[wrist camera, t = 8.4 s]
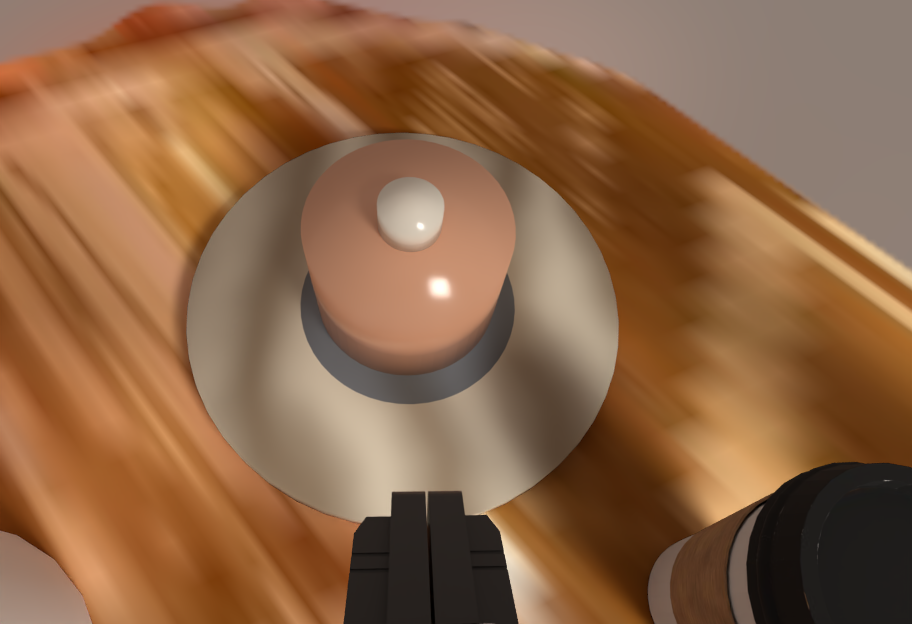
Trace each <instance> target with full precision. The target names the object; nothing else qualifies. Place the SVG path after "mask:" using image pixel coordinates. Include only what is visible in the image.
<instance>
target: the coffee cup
mask: <svg viewBox="0 0 912 624" xmlns="http://www.w3.org/2000/svg"><path fill="white" fill-rule="evenodd" d="M648 601H649V607H650V612H651V615H652V618H653V621H654V624H912V468H911V467H907V466H901V465H896V464H890V463H872V464H864V463H858V462H845V463H831V464H828V465H824V466H821V467H817V468H814V469H812V470H810V471H808V472H804V473H801V474H799V475H798V476H796V477H794V478H792V479H791V480H789V481H787V482H785V483H784V484H783V485H782V486H781V487H780V488H779V489H778V490H776V491H775V492H774V493H772V494H770V495H768V496H766V497H764V498H762V499H760V500H758V501H757V502H755V503H753V504H751V505H749V506H747V507H745V508H743V509H741V510H739V511H737V512H735V513H734V514H732V515H730V516H728V517H726V518H724V519H722V520H720V521H718V522H716V523H714V524H712V525H711V526H709V527H707V528H705V529H703V530H701V531H700V532H698V533H696V534H694V535H692V536H689V537H687V538H685V539H683V540H680V541H678V542H677V543H675V544H673V545H671V546H670V547H668V548H667V549H666V550H665V551H664V552H663V553H662V554H661V555H660V556H659V558H658V559H657V561H656V562H655V564H654V566H653V569H652V571H651V574H650V578H649V584H648Z"/></svg>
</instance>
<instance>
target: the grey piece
mask: <svg viewBox="0 0 912 624" xmlns="http://www.w3.org/2000/svg"><path fill="white" fill-rule="evenodd" d="M0 624H92V621H91V619H90V616H89V613H88V610H87V607H86V605H85V602H84V599H83V596H82V595H81V593H80V592H79V591H78V589H77V588H76V587H75V586H74V584H73V583H72V582H71V580H70V579H69V578H68V576H67V575H66V574H65V573H64V571H63V570H62V569H61V567H60V566H59V565H58V564H57V562H56V561H55V560H54V559H53V558H51V557H50V556H48V555H47V554H45V553H44V552H42V551H41V550H39V549H37V548H36V547H34V546H33V545H31V544H30V543H28V542H27V541H25V540H24V539H22V538H21V537H19V536H18V535H14V534H11V533H7V532H3V531H0Z"/></svg>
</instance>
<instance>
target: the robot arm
mask: <svg viewBox="0 0 912 624" xmlns="http://www.w3.org/2000/svg"><path fill="white" fill-rule="evenodd" d="M344 624H518V619H517V614H516V609H515V604H514V599H513V594H512V589H511V584H510V579H509V574H508V570H507V565H506V560H505V555H504V550H503V545H502V540H501V535H500V531H499V530H498V529H497V527H496V526H495V525H494V524H493V522H492V521H491V520H490V519H489V517H488V516H487V515H465V511H464V503H463V495H462V491H428V499H427V516H426V494H425V491H402V492H392V498H391V516H376V517H366V518H365V519H364V520H363V522H362V523H361V525H360V526H359V527H358V529H357V530H356V532H355V533H354V539H353V547H352V557H351V564H350V573H349V581H348V590H347V599H346V607H345V616H344Z"/></svg>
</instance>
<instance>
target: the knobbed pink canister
mask: <svg viewBox="0 0 912 624" xmlns="http://www.w3.org/2000/svg"><path fill="white" fill-rule="evenodd" d="M301 239H302V245H303V250H304V254H305V258H306V261H307V265H308V269H309V273H310V277H311V281H312V285H313V289H314V293H315V297H316V301H317V305H318V309H319V313H320V316H321V319H322V322H323V324H324V326H325V328H326V330H327V332H328V334H329V335H330V337H331V338H332V340H333V341H334V342H335V343H336V345H337V346H338V347H339V348H340V349H341V350H342V351H343V352H344V353H346V354H347V355H348V356H349V357H350V358H352V359H354V360H355V361H357V362H358V363H360V364H362V365H364V366H366V367H368V368H371V369H373V370H376V371H380V372H383V373H388V374H393V375H407V376H408V375H421V374H426V373H431V372H434V371H438V370H441V369H443V368H446V367H448V366H450V365H452V364H454V363H455V362H457V361H459V360H460V359H462V358H463V357H464V356H466V355H467V354H468V353H469V352H470V351H471V350H472V349H473V348H474V347H475V346H476V345H477V344H478V343H479V342H480V340H481V339H482V337H483V335H484V334H485V332H486V330H487V328H488V326H489V324H490V321H491V318H492V315H493V312H494V309H495V306H496V303H497V300H498V297H499V294H500V291H501V288H502V285H503V282H504V279H505V276H506V273H507V270H508V267H509V264H510V261H511V258H512V255H513V252H514V247H515V240H516V226H515V219H514V214H513V211H512V208H511V204H510V202H509V200H508V198H507V196H506V194H505V192H504V190H503V189H502V187H501V186H500V184H499V183H498V182H497V180H496V179H495V178H494V177H493V176H492V175H491V174H490V173H489V172H488V171H487V170H486V169H485V168H484V167H483V166H482V165H480V164H479V163H478V162H476V161H475V160H473V159H472V158H470V157H469V156H467V155H465V154H463V153H461V152H460V151H457V150H455V149H452V148H450V147H447V146H444V145H441V144H437V143H433V142H428V141H423V140H411V139H405V140H390V141H383V142H378V143H374V144H370V145H367V146H365V147H362V148H359V149H357V150H355V151H353V152H351V153H349V154H347V155H345V156H344V157H342V158H341V159H339V160H337V161H336V162H335V163H334V164H332V165H331V166H330V167H329V168H328V169H327V170H326V171H325V172H324V173H323V174H322V175H321V176H320V177H319V178H318V180H317V181H316V183H315V184H314V186H313V187H312V189H311V191H310V193H309V195H308V197H307V199H306V202H305V205H304V208H303V212H302V218H301Z"/></svg>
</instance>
